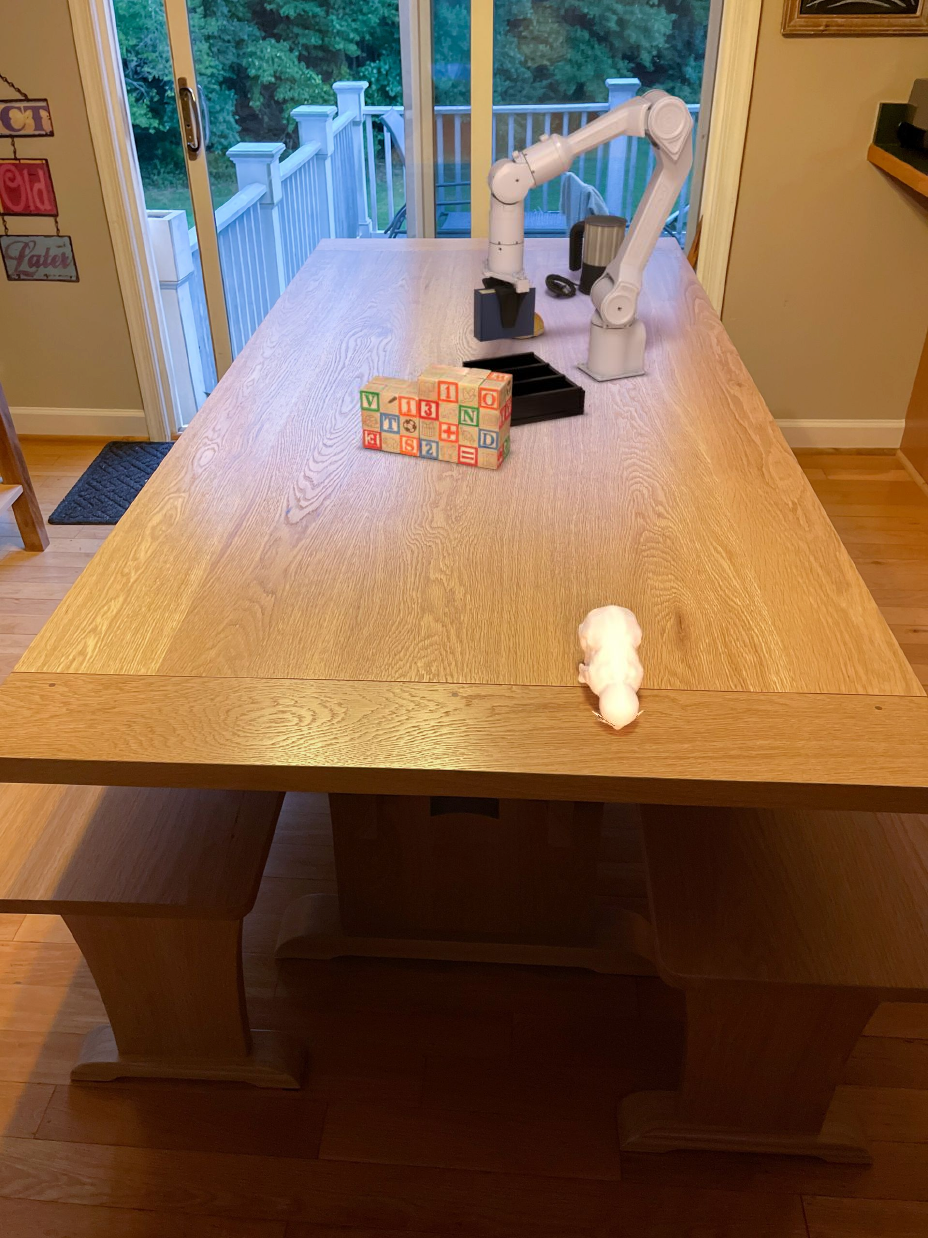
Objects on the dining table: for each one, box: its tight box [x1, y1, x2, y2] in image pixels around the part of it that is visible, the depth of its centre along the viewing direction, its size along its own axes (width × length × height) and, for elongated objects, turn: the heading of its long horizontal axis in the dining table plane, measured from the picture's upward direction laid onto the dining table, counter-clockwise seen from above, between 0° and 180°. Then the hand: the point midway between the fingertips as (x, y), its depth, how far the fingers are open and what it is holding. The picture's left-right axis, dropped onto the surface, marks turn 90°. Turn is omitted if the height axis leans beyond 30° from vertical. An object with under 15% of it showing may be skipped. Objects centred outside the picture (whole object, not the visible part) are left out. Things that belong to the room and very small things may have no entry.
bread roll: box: [513, 311, 546, 340], centre depth 187 cm, size 8×9×4 cm
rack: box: [461, 350, 586, 428], centre depth 159 cm, size 14×19×4 cm
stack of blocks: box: [359, 363, 512, 470], centre depth 141 cm, size 21×6×12 cm, turn 71°
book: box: [473, 285, 537, 343], centre depth 164 cm, size 10×3×8 cm, turn 112°
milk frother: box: [544, 214, 628, 298], centre depth 206 cm, size 14×16×15 cm
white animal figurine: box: [577, 604, 645, 731], centre depth 94 cm, size 6×8×12 cm
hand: (504, 323), depth 165 cm, fingers closed on book, 3 cm apart
